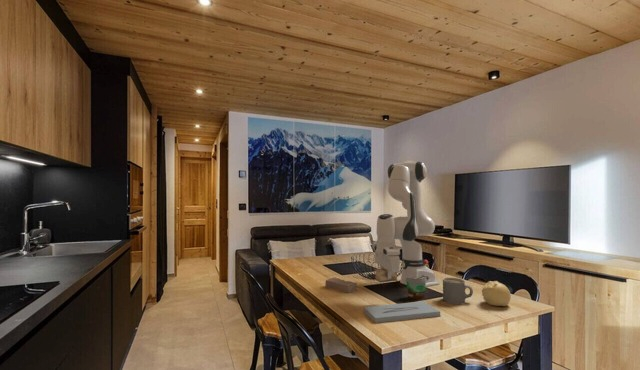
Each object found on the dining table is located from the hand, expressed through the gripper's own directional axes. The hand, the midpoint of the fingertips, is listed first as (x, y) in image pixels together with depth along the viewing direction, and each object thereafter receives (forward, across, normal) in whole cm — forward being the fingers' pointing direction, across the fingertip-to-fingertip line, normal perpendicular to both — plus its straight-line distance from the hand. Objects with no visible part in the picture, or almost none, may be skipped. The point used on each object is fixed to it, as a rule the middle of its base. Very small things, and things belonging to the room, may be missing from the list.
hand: (386, 276), depth 153 cm
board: (+12, +15, 0) cm, 19 cm away
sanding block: (+2, 0, 0) cm, 2 cm away
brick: (+14, -27, -15) cm, 34 cm away
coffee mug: (+13, +7, +34) cm, 38 cm away
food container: (+13, -3, +20) cm, 24 cm away
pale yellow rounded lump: (+13, +15, +50) cm, 53 cm away
